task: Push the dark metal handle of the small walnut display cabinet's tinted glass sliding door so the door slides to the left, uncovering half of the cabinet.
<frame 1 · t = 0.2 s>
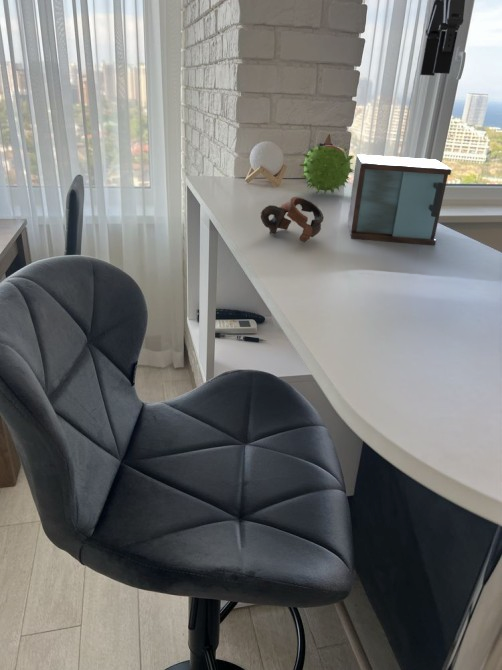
hand: (433, 74, 97), 29 cm above the table, tool pointing down, fingers open, 13 cm apart
chestnut: (323, 194, 138), on the table
display cabinet: (388, 231, 104), on the table
two-tone looped frame: (288, 237, 97), on the table
glass door: (419, 207, 93), point 7 cm above the table, slide at 0.0 cm
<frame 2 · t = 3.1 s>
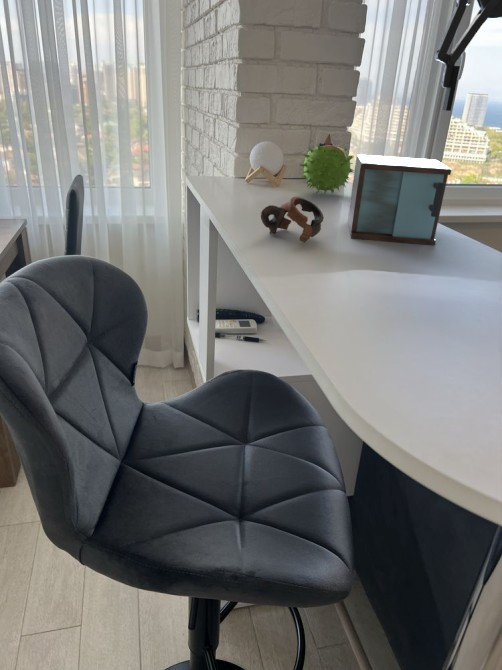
hand: (477, 112, 84), 24 cm above the table, tool pointing down, fingers open, 9 cm apart
nothing on the table moved.
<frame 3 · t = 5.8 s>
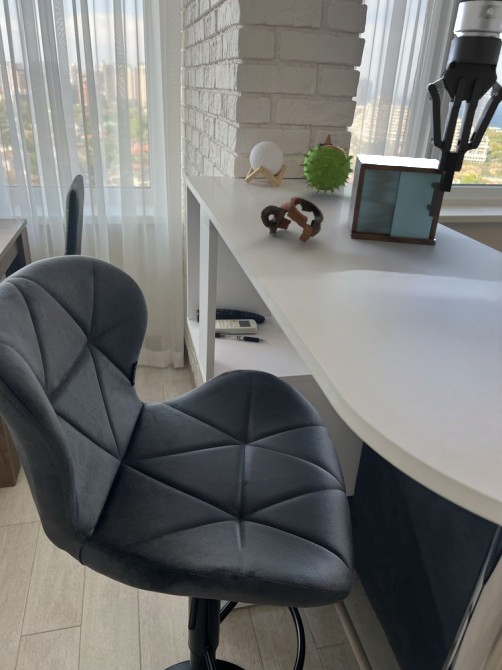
hand: (444, 190, 90), 11 cm above the table, tool pointing down, fingers closed
glass door: (417, 207, 93), point 7 cm above the table, slide at 0.4 cm
everything else where it was.
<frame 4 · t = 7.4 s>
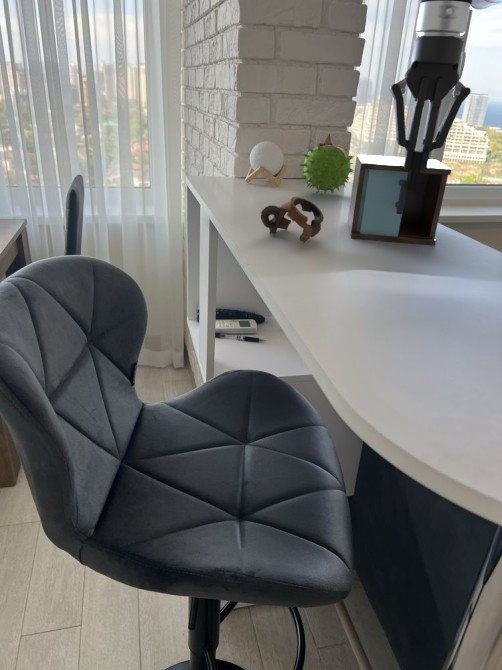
hand: (410, 189, 90), 10 cm above the table, tool pointing down, fingers closed
glass door: (385, 205, 94), point 7 cm above the table, slide at 6.2 cm, touching gripper
everything else where it was.
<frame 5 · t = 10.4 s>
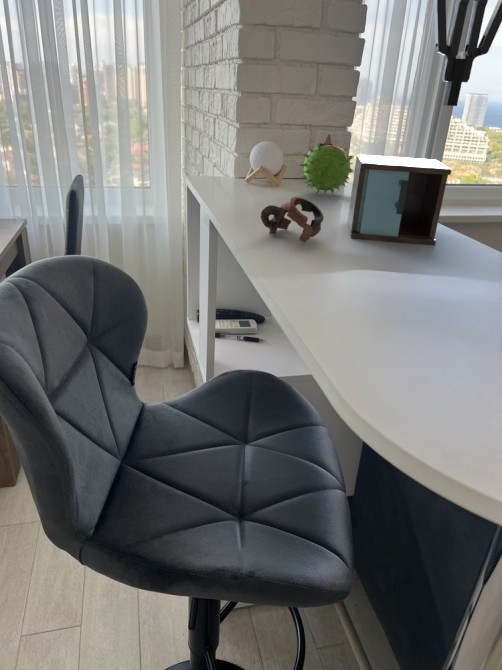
hand: (450, 105, 80), 24 cm above the table, tool pointing down, fingers closed
glass door: (385, 205, 94), point 7 cm above the table, slide at 6.2 cm
everything else where it was.
at the end: glass door slide at 6.2 cm; two-tone looped frame moved 0.2 cm from its start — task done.
